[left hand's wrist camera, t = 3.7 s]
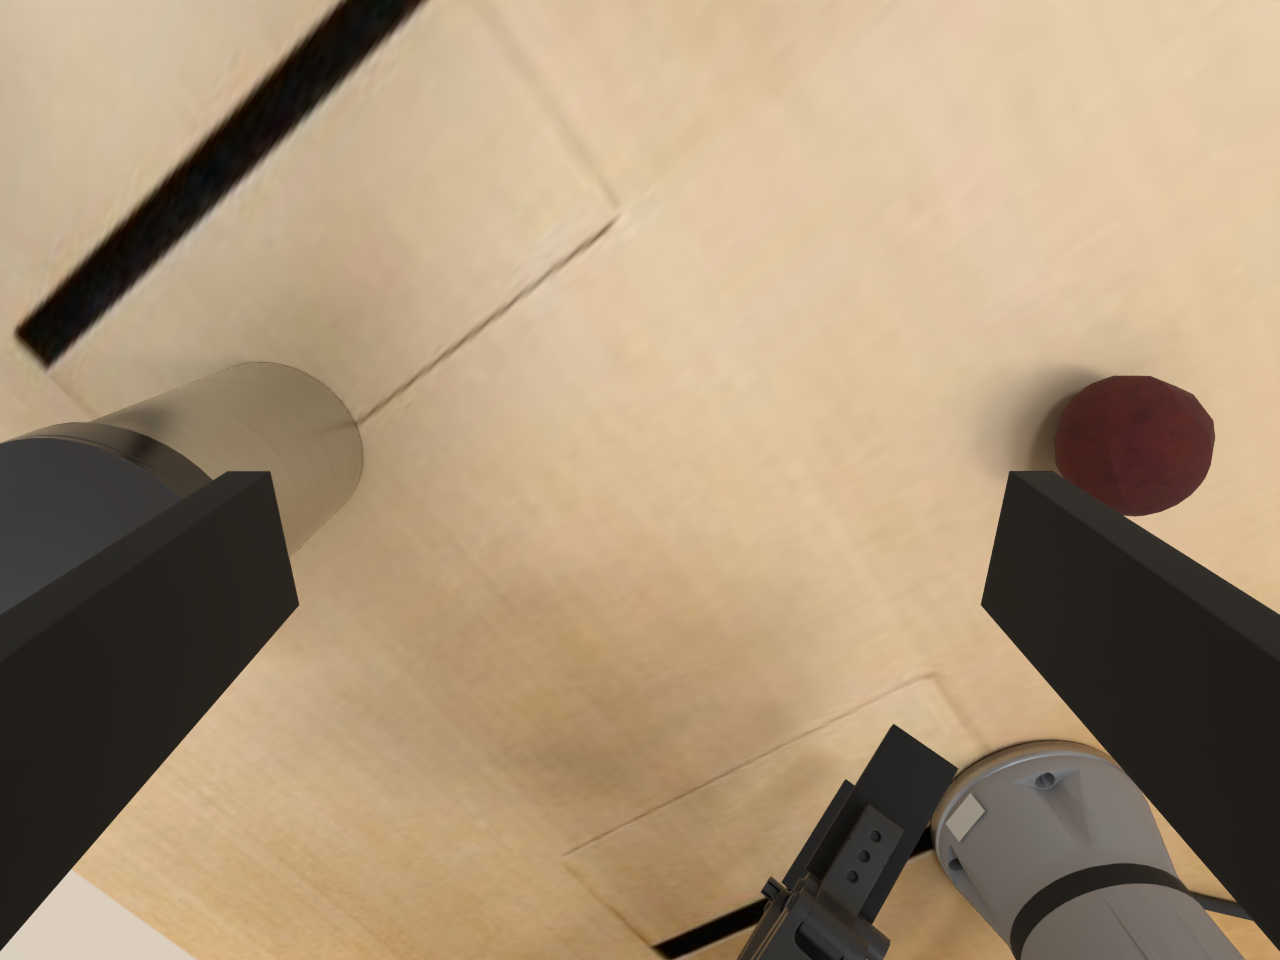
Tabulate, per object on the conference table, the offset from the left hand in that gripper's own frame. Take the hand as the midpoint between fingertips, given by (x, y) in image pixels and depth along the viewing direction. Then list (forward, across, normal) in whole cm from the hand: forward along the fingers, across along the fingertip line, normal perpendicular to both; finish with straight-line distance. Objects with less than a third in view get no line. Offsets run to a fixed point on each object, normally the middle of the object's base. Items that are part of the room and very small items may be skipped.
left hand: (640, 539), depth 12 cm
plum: (+28, +27, -6) cm, 39 cm away
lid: (+13, -22, -8) cm, 27 cm away
